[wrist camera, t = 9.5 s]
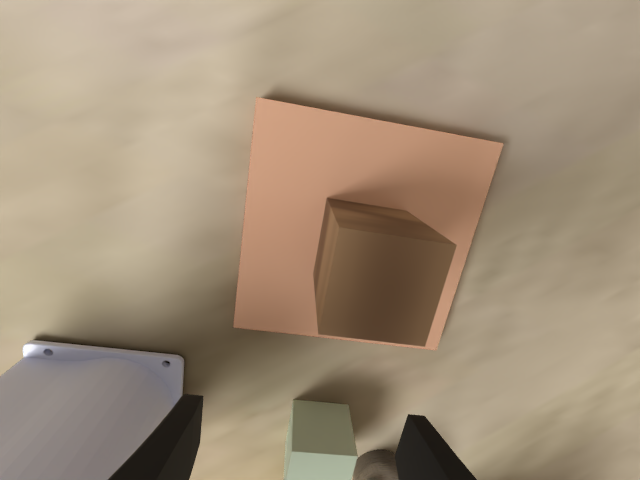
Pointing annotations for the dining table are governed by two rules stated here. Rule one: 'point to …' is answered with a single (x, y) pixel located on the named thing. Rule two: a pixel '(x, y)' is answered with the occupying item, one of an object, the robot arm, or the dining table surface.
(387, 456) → the grey metal cylinder
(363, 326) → the walnut block
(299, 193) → the terracotta tile
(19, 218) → the dining table surface
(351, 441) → the sage painted cube
